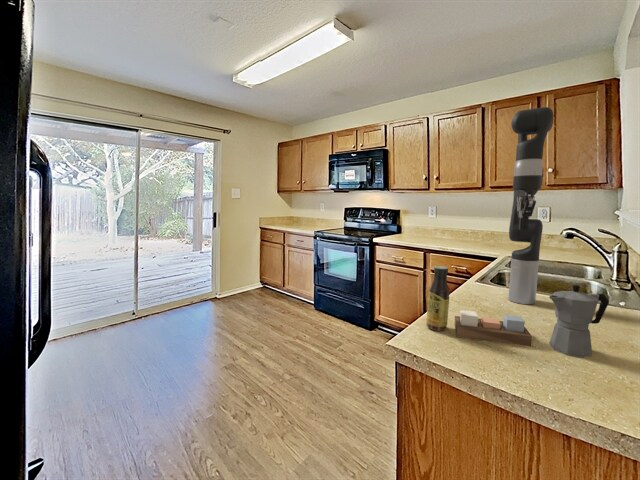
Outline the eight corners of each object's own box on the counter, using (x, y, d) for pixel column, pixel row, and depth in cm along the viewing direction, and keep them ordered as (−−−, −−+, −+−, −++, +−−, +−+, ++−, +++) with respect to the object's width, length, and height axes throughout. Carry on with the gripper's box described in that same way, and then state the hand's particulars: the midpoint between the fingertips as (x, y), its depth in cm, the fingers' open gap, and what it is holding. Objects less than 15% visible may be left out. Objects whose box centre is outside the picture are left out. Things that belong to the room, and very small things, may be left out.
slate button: (502, 327, 96) (503, 314, 95) (519, 329, 94) (520, 316, 94) (506, 333, 92) (507, 319, 91) (523, 335, 90) (524, 321, 90)
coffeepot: (558, 357, 81) (564, 289, 79) (533, 341, 91) (539, 280, 88) (618, 358, 81) (626, 290, 79) (588, 342, 90) (594, 280, 88)
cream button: (459, 322, 100) (460, 310, 99) (475, 324, 98) (476, 311, 98) (461, 327, 95) (461, 314, 95) (477, 329, 94) (478, 316, 94)
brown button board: (454, 324, 103) (454, 315, 103) (521, 332, 97) (522, 323, 96) (456, 337, 94) (457, 327, 93) (531, 346, 87) (532, 336, 87)
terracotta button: (480, 329, 98) (481, 316, 97) (496, 331, 96) (497, 318, 96) (482, 334, 94) (483, 321, 93) (499, 336, 92) (500, 323, 92)
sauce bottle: (422, 325, 102) (424, 265, 100) (437, 323, 104) (440, 264, 102) (436, 333, 96) (439, 269, 93) (452, 330, 98) (455, 268, 96)
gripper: (549, 172, 92) (543, 232, 94) (534, 176, 104) (530, 228, 106) (519, 173, 94) (515, 231, 96) (509, 176, 107) (505, 227, 109)
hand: (523, 229), depth 101 cm, fingers closed
